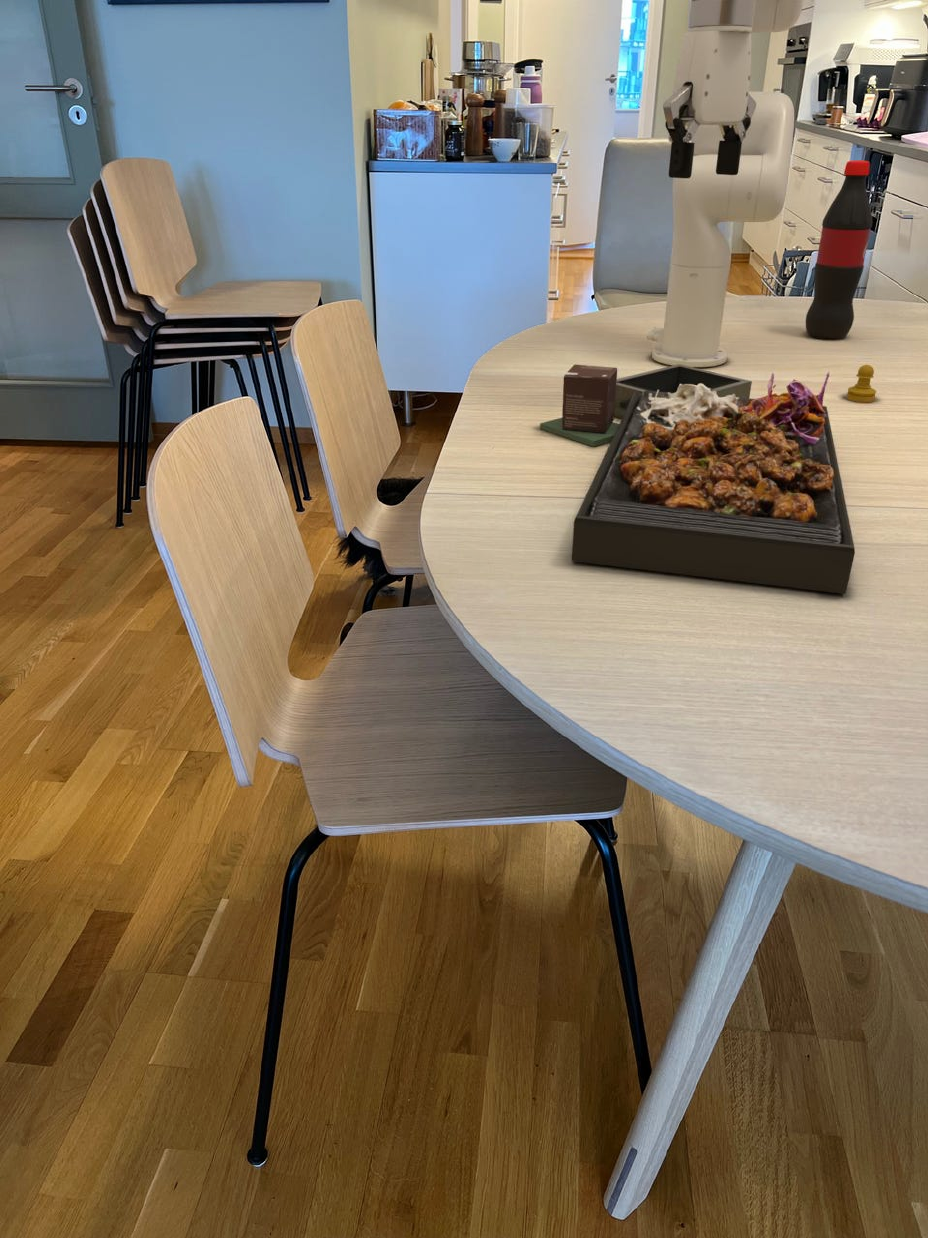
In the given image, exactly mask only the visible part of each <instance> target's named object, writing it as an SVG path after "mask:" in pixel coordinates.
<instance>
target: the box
mask: <svg viewBox="0 0 928 1238" xmlns="http://www.w3.org/2000/svg"><path fill="white" fill-rule="evenodd" d="M617 379H618V367H614V366H613V367H612V366H611V367H609V366H600V365H599V366H598V365H586V364H573V365H572V366H571V368H570V369H569V370H567V372H565V374H564V375H563V383H562V384H563V385H562V386H563V387H562V389H563V390H562V410H561V411H562V413H561V418H562V429H569V430H581V431H592V432H602V433H606V431H607V429H608V428H609V426H610V425H611V423H612V422H614V420H615V417H614V409H615V395H616V382H617Z"/></svg>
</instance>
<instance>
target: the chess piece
mask: <svg viewBox="0 0 928 1238" xmlns="http://www.w3.org/2000/svg"><path fill="white" fill-rule="evenodd" d="M874 373H875V370H874V368H873V366H872V365H869V364H864V365H861V366H860V367H859V369H858V371H857V374H856V377H857V378H858V379H857V382H856V384H854V385H853V386H849V387H848V388H847V393H846V399H847V400H848V401H852V402H856V403H873V402H875V398H876V394H877V390H876V389H875V388H872V386H871V379H873V378H874V375H875V374H874Z"/></svg>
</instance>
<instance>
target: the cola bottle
mask: <svg viewBox="0 0 928 1238" xmlns="http://www.w3.org/2000/svg"><path fill="white" fill-rule="evenodd" d="M870 168H871V163H870V161H868V160H862V159H861V160H860V159H858V160H857V159H856V160H848V161H846V164H845V167H844V172H843V177H845V178H844V180H843V183H842V186H841V188H840V190H839V192H838V193H837V195H836V196H835V198H834V199H833V201H832V203H831V204H830V206H829V208H828V210H827V212H826V213H825V216H824V217H823V220H822V223H821V226H822V228H821V232H820V233H821V234H820V239H819V245H818V251H817V257H816V263H814V281H813V282H814V283H813V284H814V285H813V300H812V302H811V304H810V306H809V308H808V310H807V312H806V316H805V330H806V332H807V334H808V335H809V336H811V337H812V338H816V339H820V340H840V339H843V338H844V337H846V336H847V335H848V334H849V333H850V331H851V329H852V327H853V324H854V321H855V312H854V303H853V301H854V298H855V295H856V292H857V289H858V287H859V285H860V284H859V283H860V280H861V277H862V275H863V272H864V268H865V260H866V254H867V249H868V244H869V238H870V233H871V229H872V227H873V215H872V210H871V205H870V200H869V197H868V193H867V178H868V177H869V174H870Z"/></svg>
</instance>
